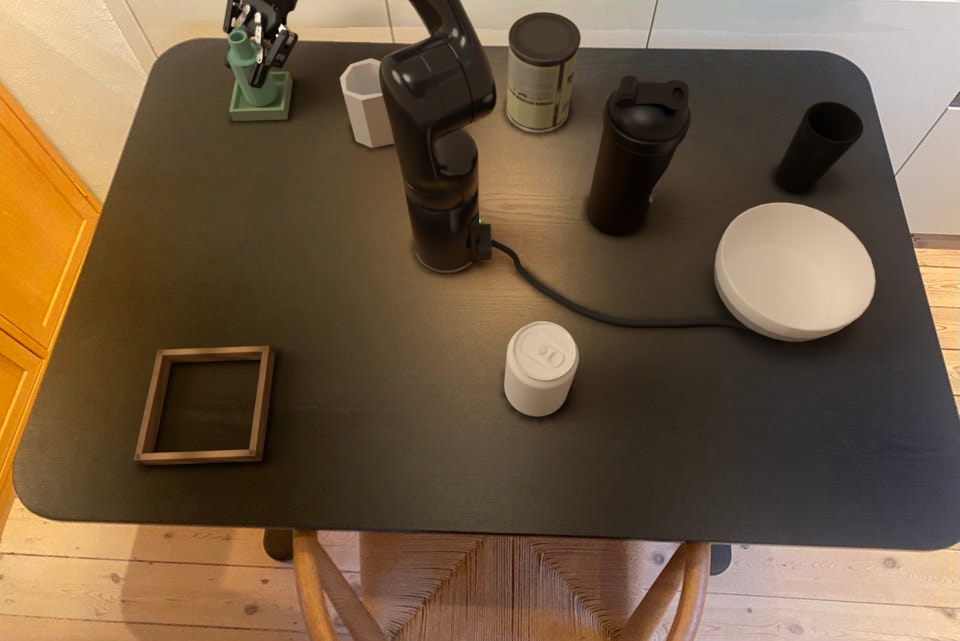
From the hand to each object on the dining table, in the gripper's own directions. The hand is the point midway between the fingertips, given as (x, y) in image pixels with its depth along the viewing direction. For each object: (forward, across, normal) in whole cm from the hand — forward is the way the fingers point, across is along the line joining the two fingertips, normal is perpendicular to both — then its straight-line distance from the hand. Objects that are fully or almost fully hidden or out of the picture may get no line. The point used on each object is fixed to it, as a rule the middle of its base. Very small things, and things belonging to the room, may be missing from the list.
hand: (242, 77), depth 94 cm
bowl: (-14, +81, +22) cm, 85 cm away
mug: (-4, +20, +13) cm, 24 cm away
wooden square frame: (+29, +38, -21) cm, 52 cm away
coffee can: (-17, +35, +26) cm, 47 cm away
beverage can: (+9, +66, 0) cm, 66 cm away
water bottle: (-12, +57, +20) cm, 61 cm away
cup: (-28, +73, +37) cm, 87 cm away
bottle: (+2, 0, +5) cm, 5 cm away
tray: (+3, 0, +6) cm, 6 cm away
